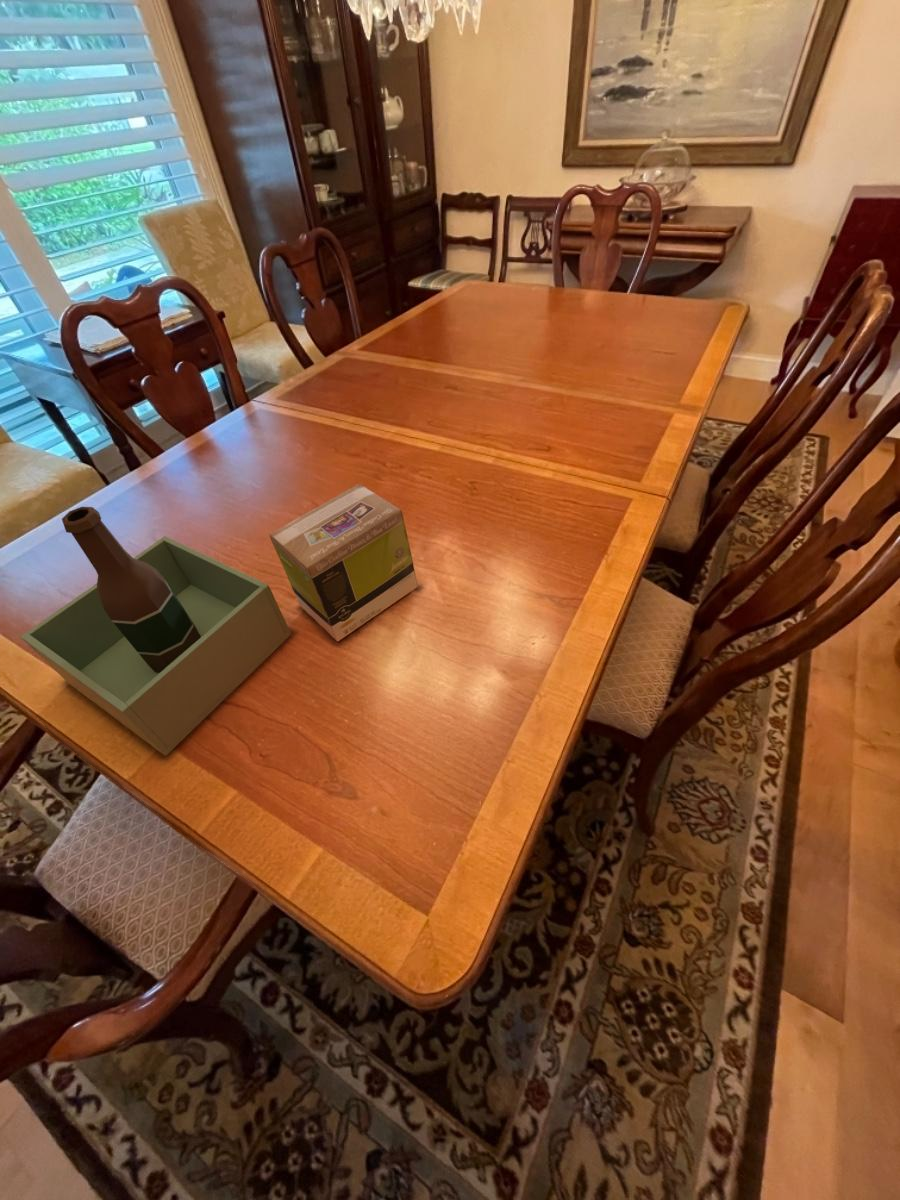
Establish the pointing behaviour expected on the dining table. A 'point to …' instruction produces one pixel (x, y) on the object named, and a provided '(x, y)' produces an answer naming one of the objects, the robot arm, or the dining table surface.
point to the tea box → (347, 559)
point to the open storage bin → (192, 681)
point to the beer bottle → (133, 593)
